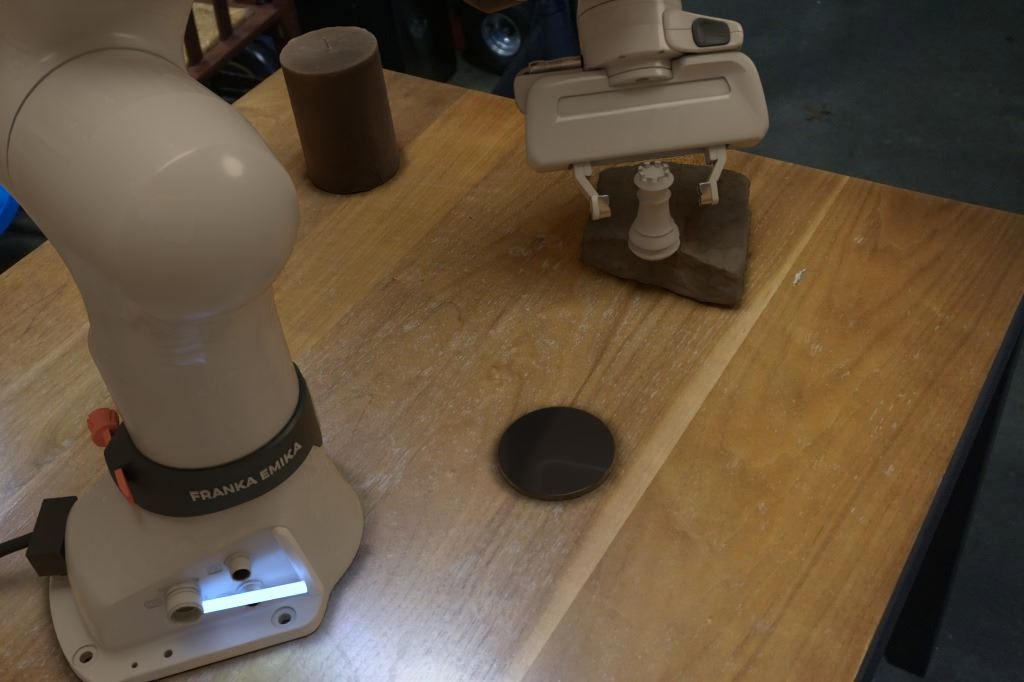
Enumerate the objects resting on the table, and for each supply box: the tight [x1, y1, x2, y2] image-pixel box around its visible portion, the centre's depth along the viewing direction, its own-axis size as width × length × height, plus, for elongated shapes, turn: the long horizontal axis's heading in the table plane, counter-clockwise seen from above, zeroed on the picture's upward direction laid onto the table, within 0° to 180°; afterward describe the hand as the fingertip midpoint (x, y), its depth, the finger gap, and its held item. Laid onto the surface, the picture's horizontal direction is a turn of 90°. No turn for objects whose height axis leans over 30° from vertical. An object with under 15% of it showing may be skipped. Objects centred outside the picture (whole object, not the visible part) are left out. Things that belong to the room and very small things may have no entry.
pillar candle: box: [279, 26, 401, 194], centre depth 110 cm, size 10×10×15 cm
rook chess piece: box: [628, 160, 680, 261], centre depth 92 cm, size 4×4×8 cm
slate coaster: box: [497, 406, 617, 501], centre depth 84 cm, size 9×9×1 cm
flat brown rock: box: [581, 160, 753, 306], centre depth 100 cm, size 17×15×4 cm
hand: (655, 211), depth 91 cm, fingers open, 8 cm apart
